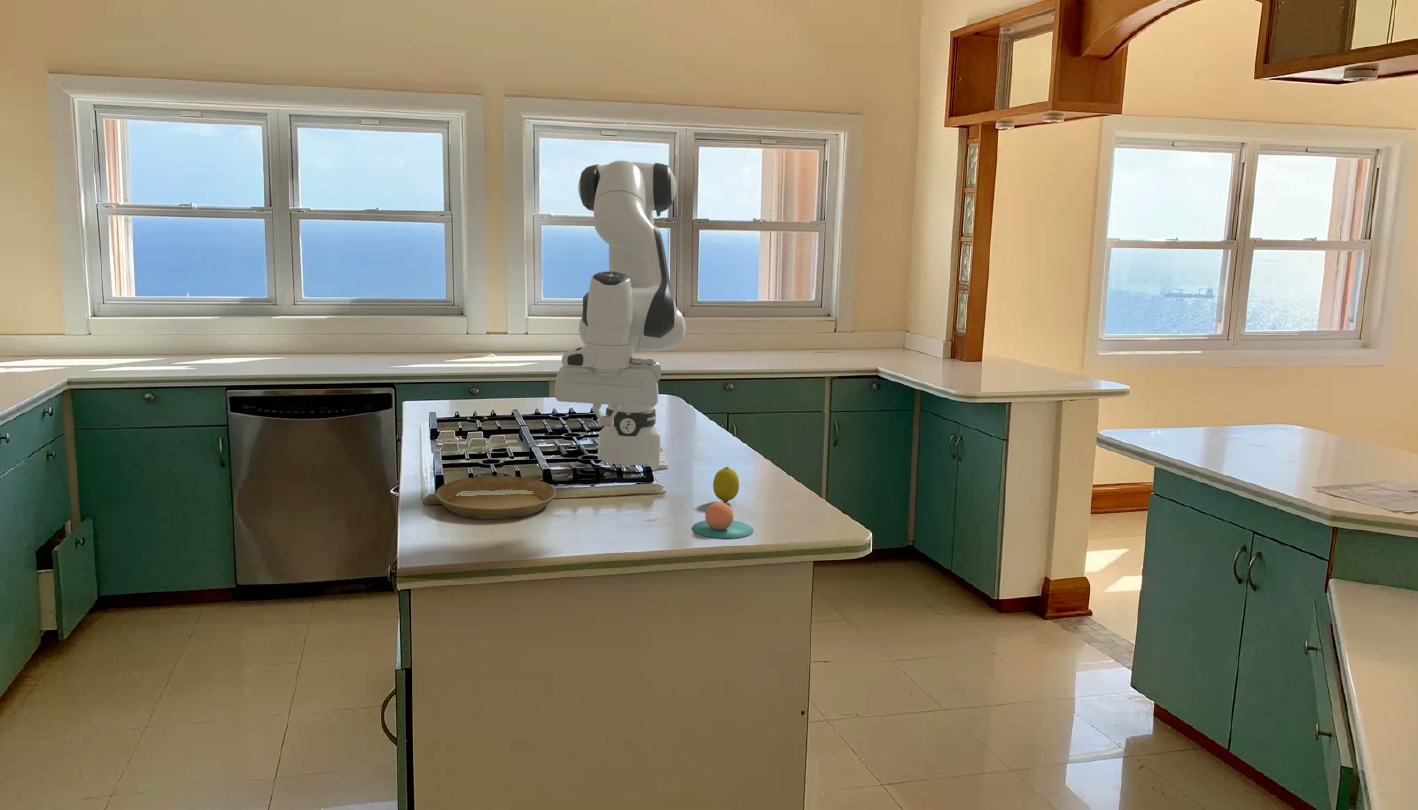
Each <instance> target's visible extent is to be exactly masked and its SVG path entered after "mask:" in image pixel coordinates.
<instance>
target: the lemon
mask: <svg viewBox="0 0 1418 810" xmlns="http://www.w3.org/2000/svg"><path fill="white" fill-rule="evenodd" d="M739 480H740V479H739V476H738V474H737V473H736V471H735V470H733V469H732V468H730V467H729V466H725V467H723V468H722V469H719V470H718V471H717V472H716V473H715V476H714V478H713V483H712V488H713V492H714V495H715V496H716V498H718V499H719V500H720V501H722V503H725V504H727V503H728V502H729V501H732V500H733V499H735V498H736V496H737V495H738V493H739V490H740V481H739Z"/></svg>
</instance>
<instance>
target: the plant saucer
mask: <svg viewBox="0 0 1418 810" xmlns="http://www.w3.org/2000/svg"><path fill="white" fill-rule="evenodd" d="M501 489H504V490H506V489H507V490H508V489H509V490H510V489H512V490H513V489H514V490H515V489H516V490H527V491H533V492H532V493H534V494H520V493H519V494H509V495H508V494H506V495H477V496H476V495H475V496H460V495H459V496H456V495H457V493H459V492H461V491H476V490H478V491H479V490H491V491H492V490H501ZM556 491H557V490H556V488H554V486H553V485H552V484H550V483H547V482H545V481H542V480H540V479H539V480H538V479H533V478H528V477H521V476H509V475H489V476H486V475H485V476H474V477H467V478H462V479H457V480H452V481H450V482H447V483H444V484H442V485H441V486H440V487H438V488H437V489H436V491H435V493H436V494H435V495H436V497H437V499H438V501H439V502H440V503H441V505H442V506H443V507H445V508H446V509H447V510H449V511H450V512H453V513H454V514H456V515H460V516H464V517H468V518H475V519H486V520H488V519H490V520H491V519H492V520H495V519H496V520H500V519H513V518H514V519H515V518H522V517H525V516H529V515H533V514H536V513H538V512H540V511H542V510H543V509H545V508H546V507H547V506H549V504H550V503H552V501H553V500H554V498H555V496H556Z"/></svg>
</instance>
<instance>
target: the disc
mask: <svg viewBox="0 0 1418 810" xmlns="http://www.w3.org/2000/svg"><path fill="white" fill-rule="evenodd" d="M692 531H693V532H694V533H696V534H697V535H699V536H703V537H707V538H713V539H718V538H736V539H742V537H743V538H747V537H749V536H751V535H752V534H753V533H754V528H753V526H751V525H749V524H748V523H745V522H742V521H738V520H733V521H732V523H731V525H730V526H729V527H728V528H726V529H724V530H714V529H712V528H711V527H710V526H709V525H708V524H707V522H706V519H705V520H701V521H698V522H695V523H694V524H693V525H692Z"/></svg>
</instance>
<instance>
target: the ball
mask: <svg viewBox="0 0 1418 810" xmlns="http://www.w3.org/2000/svg"><path fill="white" fill-rule="evenodd" d="M704 516H705V520H706V522H707V524H708V525H709V526H710V527H711V528H712V529H714V530H724V529H726V528H728V527H729V526H730V525H731V523H732V521H734V512H733V509H732V507H730V505H728V504H727V503H724V502H723V501H722V502H721V501H718V502H714V503H712V504H709V506H708V507H707V508H706V511H705V515H704Z"/></svg>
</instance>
